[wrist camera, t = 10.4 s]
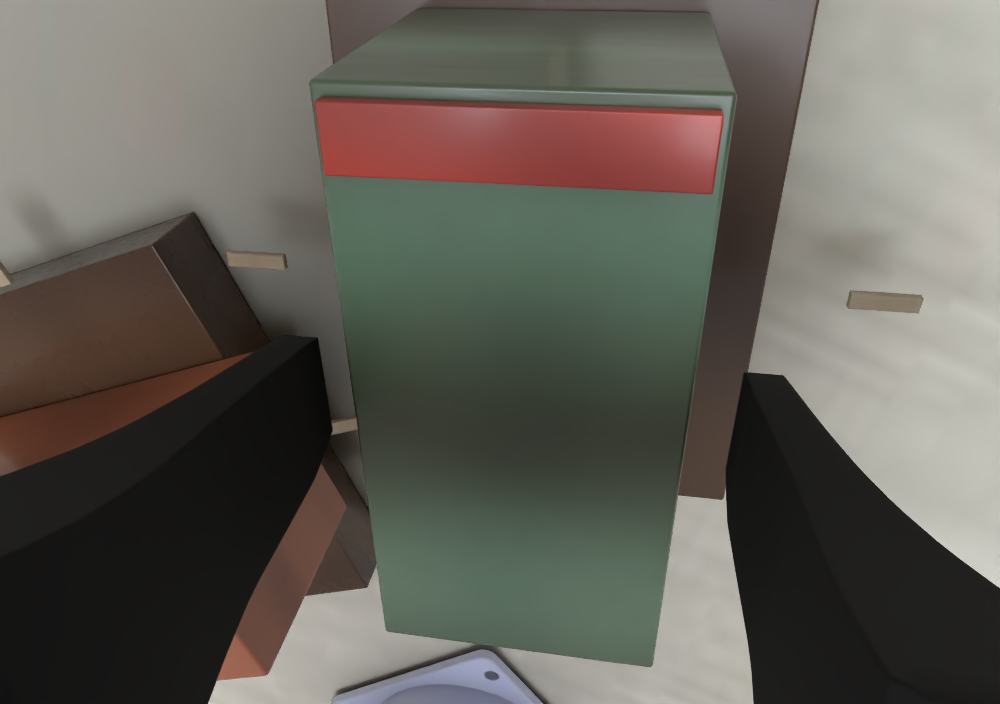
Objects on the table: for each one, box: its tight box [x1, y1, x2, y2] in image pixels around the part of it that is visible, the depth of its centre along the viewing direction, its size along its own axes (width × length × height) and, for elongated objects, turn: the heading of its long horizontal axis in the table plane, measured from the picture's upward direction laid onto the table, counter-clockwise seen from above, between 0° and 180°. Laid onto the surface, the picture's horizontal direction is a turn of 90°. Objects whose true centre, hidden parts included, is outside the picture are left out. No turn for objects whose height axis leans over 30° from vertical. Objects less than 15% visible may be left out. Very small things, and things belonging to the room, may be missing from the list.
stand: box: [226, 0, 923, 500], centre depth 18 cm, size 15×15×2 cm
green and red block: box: [309, 8, 737, 667], centre depth 15 cm, size 11×5×6 cm, turn 1°
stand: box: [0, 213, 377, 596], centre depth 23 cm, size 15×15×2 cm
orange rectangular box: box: [0, 352, 346, 680], centre depth 20 cm, size 11×5×6 cm, turn 111°
